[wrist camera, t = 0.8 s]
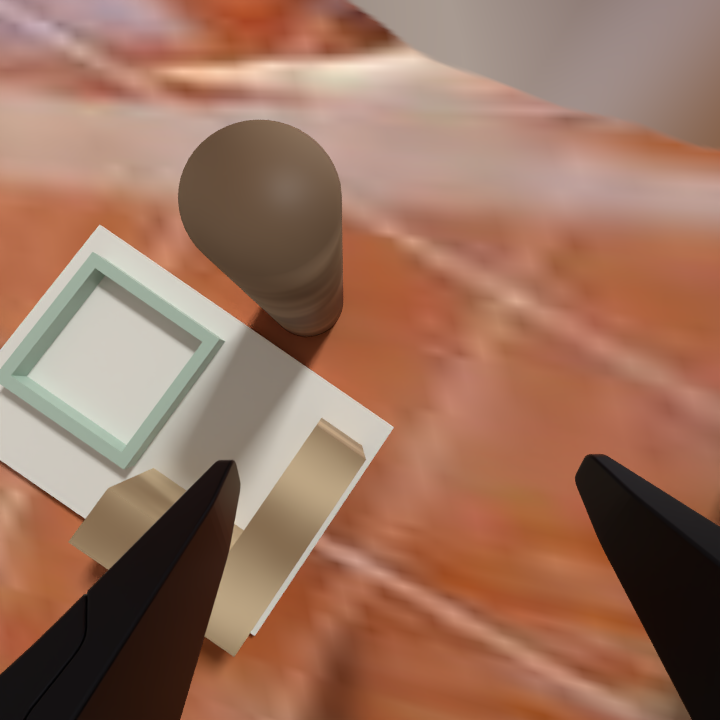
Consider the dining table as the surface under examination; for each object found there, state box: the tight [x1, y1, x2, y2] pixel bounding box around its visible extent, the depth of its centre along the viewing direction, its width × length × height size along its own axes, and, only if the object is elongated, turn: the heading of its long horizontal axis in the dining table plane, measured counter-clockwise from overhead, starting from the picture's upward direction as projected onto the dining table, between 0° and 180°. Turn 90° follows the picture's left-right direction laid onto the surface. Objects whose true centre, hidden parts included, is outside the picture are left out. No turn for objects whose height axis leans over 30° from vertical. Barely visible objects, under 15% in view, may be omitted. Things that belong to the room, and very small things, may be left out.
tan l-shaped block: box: [69, 418, 366, 656], centre depth 19 cm, size 11×10×4 cm
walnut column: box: [178, 120, 343, 336], centre depth 16 cm, size 5×5×12 cm
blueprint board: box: [0, 225, 394, 636], centre depth 21 cm, size 14×22×2 cm, turn 56°
